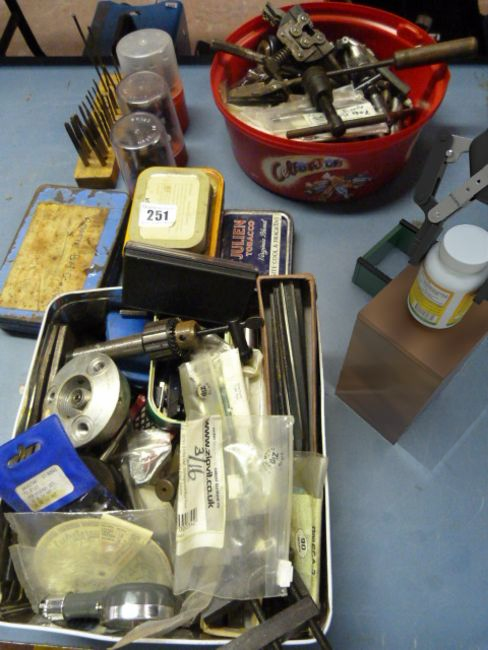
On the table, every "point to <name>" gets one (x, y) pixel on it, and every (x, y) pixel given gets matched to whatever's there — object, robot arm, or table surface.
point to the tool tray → (365, 265)
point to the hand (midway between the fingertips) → (444, 282)
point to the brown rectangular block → (403, 358)
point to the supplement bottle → (450, 277)
